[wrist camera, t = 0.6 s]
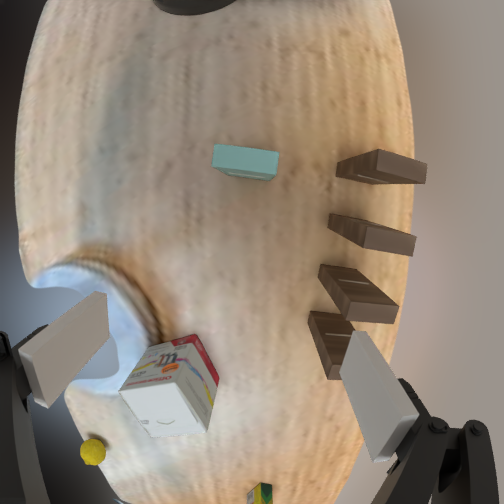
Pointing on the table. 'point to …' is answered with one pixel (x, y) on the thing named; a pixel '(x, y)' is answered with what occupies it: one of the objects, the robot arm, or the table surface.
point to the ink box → (172, 388)
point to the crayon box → (260, 494)
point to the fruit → (93, 451)
